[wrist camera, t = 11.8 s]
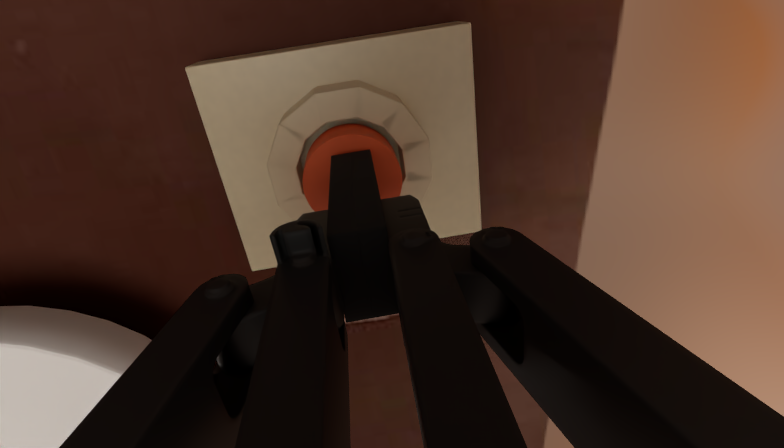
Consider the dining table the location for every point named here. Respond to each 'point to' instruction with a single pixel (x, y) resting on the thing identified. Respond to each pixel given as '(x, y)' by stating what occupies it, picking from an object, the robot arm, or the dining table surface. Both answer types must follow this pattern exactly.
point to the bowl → (56, 371)
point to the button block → (344, 106)
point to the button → (349, 141)
